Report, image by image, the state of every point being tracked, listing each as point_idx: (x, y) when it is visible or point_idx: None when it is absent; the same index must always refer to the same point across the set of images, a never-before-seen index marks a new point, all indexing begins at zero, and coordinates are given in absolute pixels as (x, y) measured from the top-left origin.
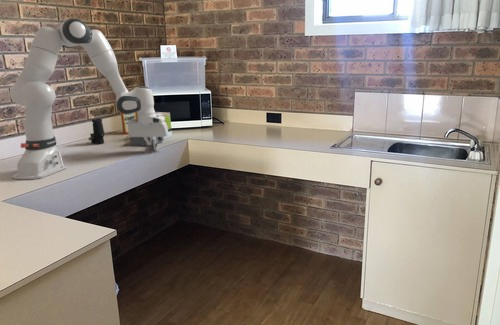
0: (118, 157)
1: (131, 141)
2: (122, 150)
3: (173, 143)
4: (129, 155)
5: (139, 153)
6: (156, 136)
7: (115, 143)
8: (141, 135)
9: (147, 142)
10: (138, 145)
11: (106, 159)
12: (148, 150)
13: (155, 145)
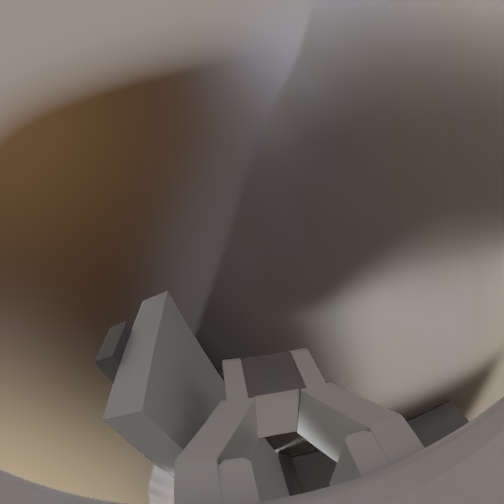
0: (459, 27)
1: (462, 421)
2: (498, 276)
3: (152, 491)
4: (413, 65)
5: (339, 145)
6: (25, 484)
7: (498, 396)
8: (497, 440)
9: (304, 384)
10: (410, 420)
11: (490, 10)
12: (273, 312)
13: (118, 336)
